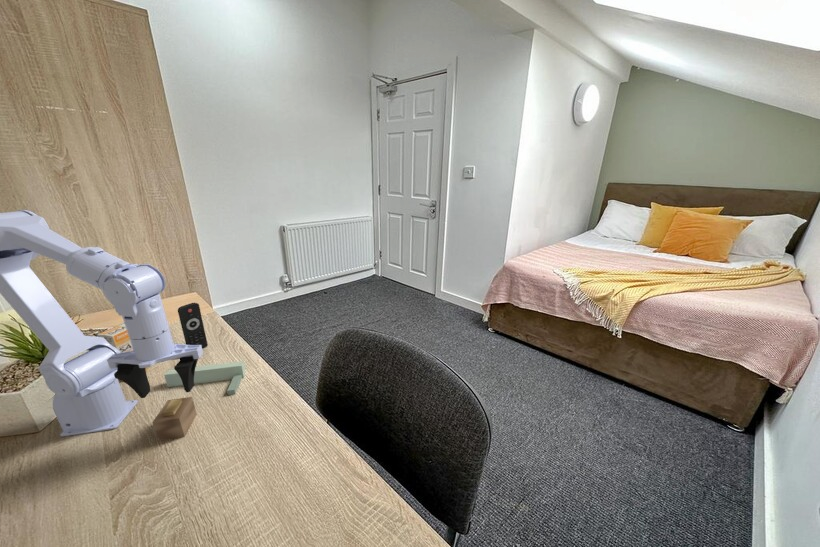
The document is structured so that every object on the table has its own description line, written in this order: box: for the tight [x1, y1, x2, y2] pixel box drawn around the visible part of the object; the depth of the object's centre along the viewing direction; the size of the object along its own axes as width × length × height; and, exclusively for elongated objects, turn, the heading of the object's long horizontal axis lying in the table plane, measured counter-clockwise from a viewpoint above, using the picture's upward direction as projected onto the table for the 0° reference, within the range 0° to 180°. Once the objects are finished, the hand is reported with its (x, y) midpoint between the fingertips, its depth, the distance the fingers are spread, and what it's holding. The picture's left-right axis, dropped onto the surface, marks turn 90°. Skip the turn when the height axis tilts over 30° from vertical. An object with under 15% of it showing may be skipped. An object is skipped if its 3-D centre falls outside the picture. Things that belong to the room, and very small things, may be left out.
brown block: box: [152, 396, 198, 442], centre depth 63 cm, size 4×6×6 cm
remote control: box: [177, 302, 208, 350], centre depth 87 cm, size 5×2×15 cm, turn 149°
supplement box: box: [96, 322, 150, 381], centre depth 78 cm, size 8×5×13 cm, turn 168°
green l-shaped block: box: [163, 360, 247, 396], centre depth 74 cm, size 17×8×4 cm, turn 103°
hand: (168, 391), depth 60 cm, fingers open, 7 cm apart
